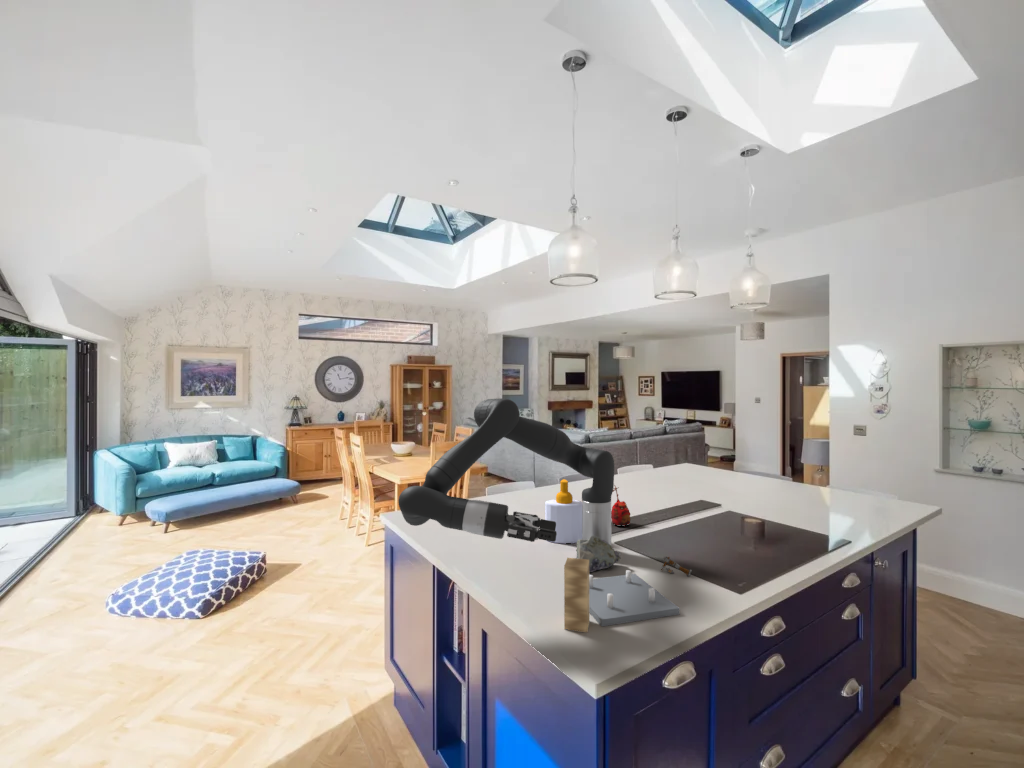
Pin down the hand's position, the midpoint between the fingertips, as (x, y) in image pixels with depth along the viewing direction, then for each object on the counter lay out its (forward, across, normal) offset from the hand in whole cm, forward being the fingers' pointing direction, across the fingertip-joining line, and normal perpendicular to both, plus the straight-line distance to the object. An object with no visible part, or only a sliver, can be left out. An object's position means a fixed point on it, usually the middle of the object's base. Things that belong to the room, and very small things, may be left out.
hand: (555, 531), depth 103 cm
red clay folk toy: (+28, +76, +12) cm, 82 cm away
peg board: (+19, +14, +17) cm, 29 cm away
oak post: (+8, +1, +20) cm, 21 cm away
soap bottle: (+6, +57, +17) cm, 60 cm away
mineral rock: (+15, +33, +17) cm, 40 cm away
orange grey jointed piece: (+37, +31, +14) cm, 50 cm away
